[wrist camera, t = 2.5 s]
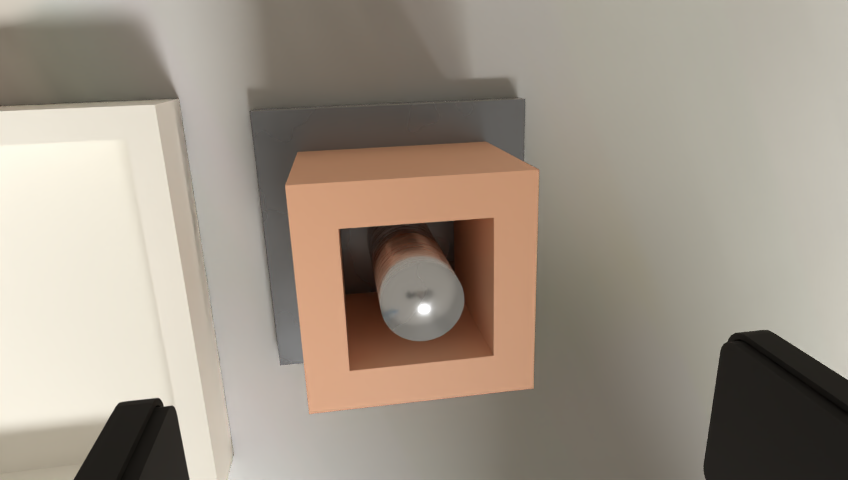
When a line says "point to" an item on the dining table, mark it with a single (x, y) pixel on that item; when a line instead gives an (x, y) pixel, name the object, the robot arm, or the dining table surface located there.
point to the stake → (378, 245)
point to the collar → (473, 262)
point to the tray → (101, 285)
